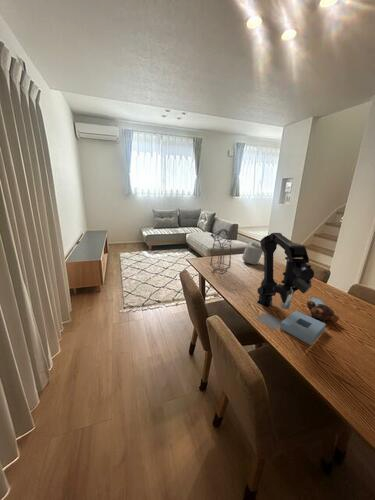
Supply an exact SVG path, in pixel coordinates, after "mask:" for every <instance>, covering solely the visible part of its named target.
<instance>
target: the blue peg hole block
mask: <svg viewBox="0 0 375 500" xmlns="http://www.w3.org/2000/svg"><path fill="white" fill-rule="evenodd" d="M326 325H327V323H325V322H321V320H318V319H316V318H312V316H309V315H307V314H304V313H303V312H301V311H298V310H294V311H293V312H292V313H290V314H289V315H288V316H287V317H286V318H284V319H283V320H282V322H281V325H280V326H279V329H280V330H282V331H284V332H286V333H288V334H289V335H291V336H293V337H295V338H297V339H299V340H301V341H302V342H304V343H306V344H307V345H310V346H312V345H313V344H314V343H315V342H316V341H317V340H318V338H320V336H321V335H322V334H323V333H324V332H325V328H326Z"/></svg>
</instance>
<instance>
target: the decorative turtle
mask: <svg viewBox="0 0 375 500" xmlns="http://www.w3.org/2000/svg"><path fill="white" fill-rule="evenodd" d="M306 306H307V308H308V310H309V311H310V314H311V316H310V317H312V318H314V319H316V318H318V319H319V321H320V322H323V323H325V322H326V321H327V320H329V321H332V322H334V323H337V322H339V321H340V317H339V316H337V315H336V314H335V311H334V310H333V309H332V308H331V307H329V306H328V305H323V304H317V305H315V303H314V302H313V301H310V300H307V302H306Z"/></svg>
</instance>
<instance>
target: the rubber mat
mask: <svg viewBox="0 0 375 500" xmlns="http://www.w3.org/2000/svg"><path fill="white" fill-rule="evenodd" d="M256 321H259V322H260V323H262V324H264V325H265V326H267V327H269V328H271V329H272V330H277V329H278V328H280V325H281V322H282V321H283V320H282V319H280V318H279V317H276V316H275V315H272V314H271V313H269V312H265V313H264V314H263V315H261V316H259V317H258V318H256Z"/></svg>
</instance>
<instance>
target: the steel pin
mask: <svg viewBox="0 0 375 500" xmlns="http://www.w3.org/2000/svg"><path fill="white" fill-rule="evenodd" d="M290 292H292V293H291V294H290V295H288V298H287V300H286V303H283V302H282V301H281V303H280V308H281V309H283V310H286V311H287V310H290V309H291V303H292V298H293V296H292V294H293V288H291V290H290ZM293 295H294V294H293Z"/></svg>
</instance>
